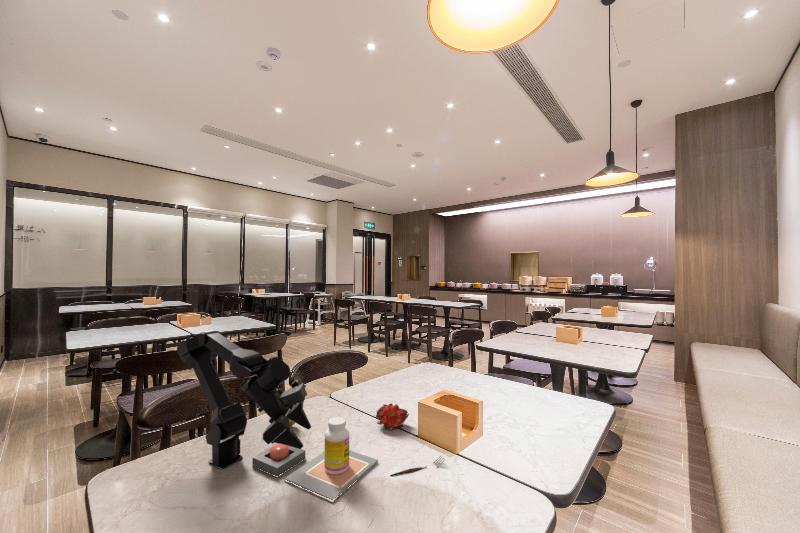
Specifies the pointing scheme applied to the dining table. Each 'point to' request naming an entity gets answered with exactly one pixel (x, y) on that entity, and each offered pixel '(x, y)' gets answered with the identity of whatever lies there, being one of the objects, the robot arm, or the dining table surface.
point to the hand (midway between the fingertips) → (306, 437)
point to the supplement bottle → (336, 446)
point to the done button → (279, 452)
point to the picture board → (331, 475)
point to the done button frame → (279, 467)
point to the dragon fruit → (391, 416)
